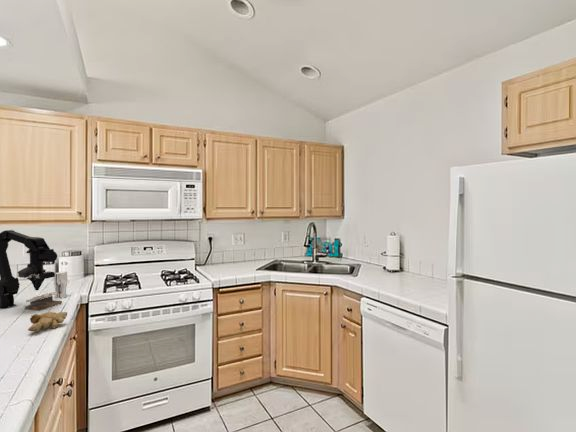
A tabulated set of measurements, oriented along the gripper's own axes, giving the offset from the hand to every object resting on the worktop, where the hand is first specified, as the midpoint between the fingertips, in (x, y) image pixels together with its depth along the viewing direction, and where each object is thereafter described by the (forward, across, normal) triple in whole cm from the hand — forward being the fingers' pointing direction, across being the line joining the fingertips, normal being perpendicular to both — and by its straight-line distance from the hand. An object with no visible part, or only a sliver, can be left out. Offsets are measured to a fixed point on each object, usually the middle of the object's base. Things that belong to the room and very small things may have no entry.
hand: (36, 290), depth 177 cm
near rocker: (+5, -2, 0) cm, 6 cm away
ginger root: (+10, +31, -20) cm, 38 cm away
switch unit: (+10, -1, +4) cm, 11 cm away
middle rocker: (+5, -2, +4) cm, 7 cm away
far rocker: (+5, -2, +9) cm, 11 cm away
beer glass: (+10, -9, +22) cm, 25 cm away
